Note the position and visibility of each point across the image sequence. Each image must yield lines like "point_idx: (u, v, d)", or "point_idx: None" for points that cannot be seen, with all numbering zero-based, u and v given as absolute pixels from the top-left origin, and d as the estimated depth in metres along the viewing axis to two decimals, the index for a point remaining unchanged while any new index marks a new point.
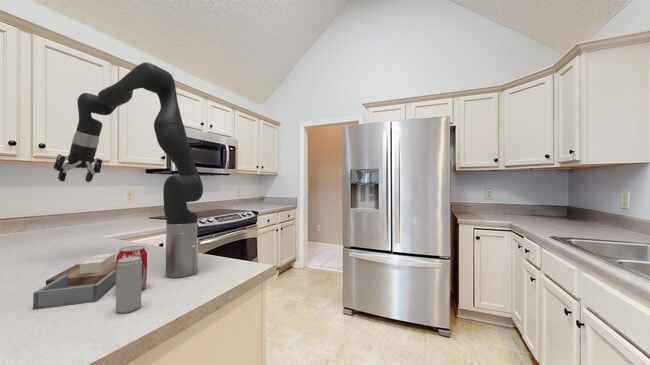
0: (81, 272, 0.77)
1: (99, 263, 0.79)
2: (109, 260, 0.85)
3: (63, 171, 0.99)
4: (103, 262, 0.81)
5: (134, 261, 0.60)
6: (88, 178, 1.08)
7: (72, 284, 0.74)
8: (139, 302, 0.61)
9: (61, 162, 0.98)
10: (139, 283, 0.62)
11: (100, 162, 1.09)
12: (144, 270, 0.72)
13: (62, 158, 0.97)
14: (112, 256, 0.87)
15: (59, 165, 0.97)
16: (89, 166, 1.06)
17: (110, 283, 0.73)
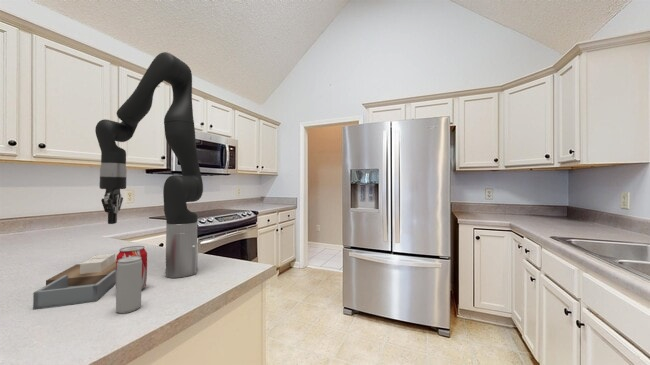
0: (81, 272, 0.77)
1: (99, 263, 0.79)
2: (109, 260, 0.85)
3: (115, 212, 0.92)
4: (103, 262, 0.81)
5: (134, 261, 0.60)
6: None
7: (72, 284, 0.74)
8: (139, 302, 0.61)
9: (112, 204, 0.89)
10: (139, 283, 0.62)
11: (122, 200, 0.98)
12: (144, 270, 0.72)
13: (110, 201, 0.88)
14: (112, 256, 0.87)
15: (112, 207, 0.90)
16: (119, 201, 0.95)
17: (110, 283, 0.73)
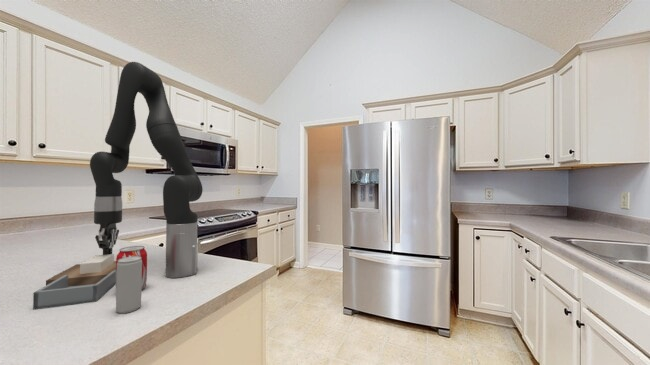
0: (81, 272, 0.77)
1: (99, 263, 0.79)
2: (108, 261, 0.84)
3: (110, 247, 0.89)
4: (103, 262, 0.81)
5: (134, 261, 0.60)
6: None
7: (72, 284, 0.74)
8: (139, 302, 0.61)
9: (106, 240, 0.86)
10: (139, 283, 0.62)
11: (118, 232, 0.95)
12: (144, 270, 0.72)
13: (105, 237, 0.85)
14: (111, 257, 0.87)
15: (107, 243, 0.86)
16: (115, 235, 0.91)
17: (110, 283, 0.73)
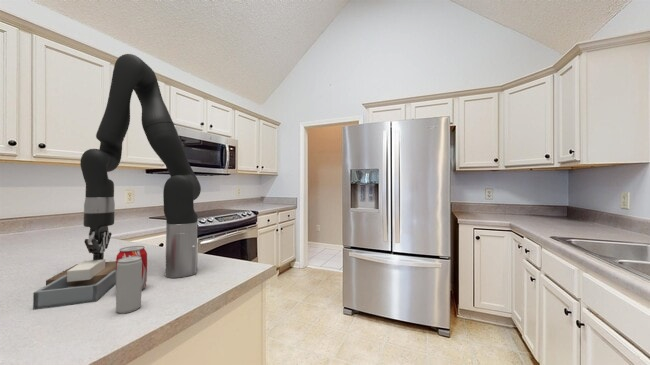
0: (68, 280, 0.71)
1: (88, 270, 0.73)
2: (98, 267, 0.78)
3: (101, 251, 0.82)
4: (92, 268, 0.74)
5: (134, 261, 0.60)
6: (100, 259, 0.83)
7: (72, 284, 0.74)
8: (139, 302, 0.61)
9: (97, 244, 0.79)
10: (139, 283, 0.62)
11: (110, 235, 0.88)
12: (144, 270, 0.72)
13: (95, 241, 0.78)
14: (102, 262, 0.80)
15: (97, 248, 0.80)
16: (106, 238, 0.85)
17: (110, 283, 0.73)
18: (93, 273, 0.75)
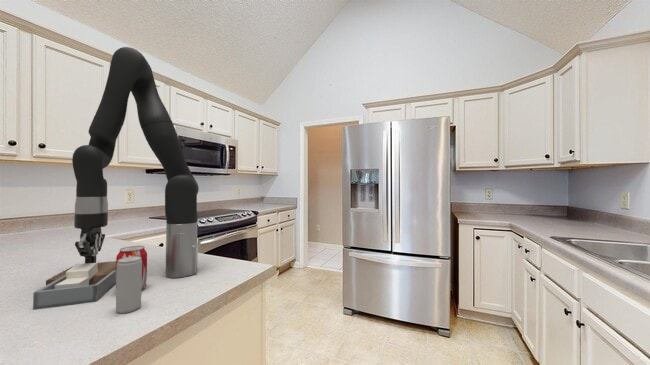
0: None
1: (76, 284, 0.68)
2: (89, 273, 0.73)
3: (93, 254, 0.77)
4: (82, 282, 0.70)
5: (134, 261, 0.60)
6: (93, 262, 0.78)
7: None
8: (139, 302, 0.61)
9: (88, 247, 0.74)
10: (139, 283, 0.62)
11: (103, 237, 0.83)
12: (144, 270, 0.72)
13: (86, 244, 0.73)
14: (93, 267, 0.75)
15: (89, 251, 0.75)
16: (99, 241, 0.80)
17: (110, 283, 0.73)
18: None
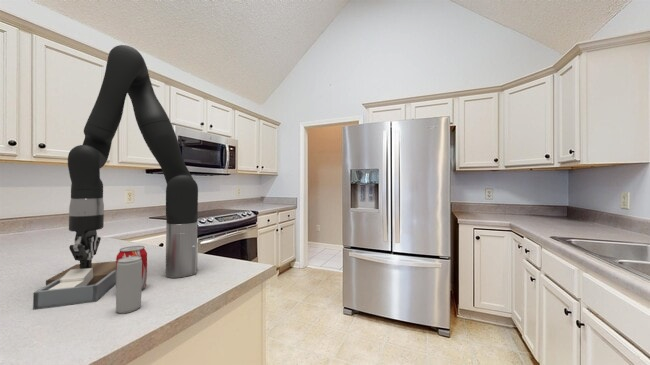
0: None
1: None
2: (84, 280, 0.71)
3: (88, 258, 0.75)
4: (77, 286, 0.67)
5: (134, 261, 0.60)
6: None
7: None
8: (139, 302, 0.61)
9: (83, 251, 0.72)
10: (139, 283, 0.62)
11: (99, 240, 0.81)
12: (144, 270, 0.72)
13: (82, 247, 0.71)
14: (89, 273, 0.73)
15: (84, 254, 0.72)
16: (95, 244, 0.77)
17: (110, 283, 0.73)
18: None
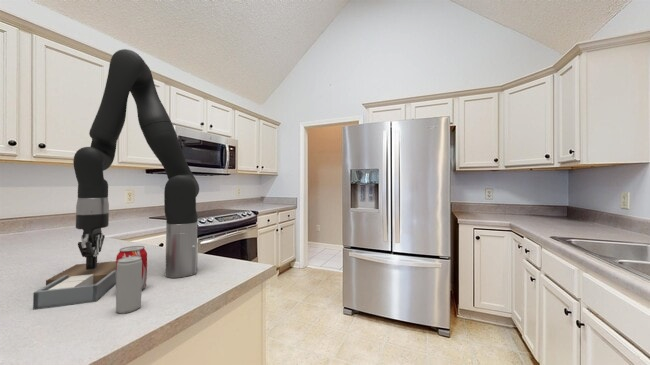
0: None
1: None
2: (85, 283, 0.71)
3: (94, 255, 0.78)
4: (77, 286, 0.67)
5: (134, 261, 0.60)
6: None
7: None
8: (139, 302, 0.61)
9: (91, 247, 0.75)
10: (139, 283, 0.62)
11: (103, 238, 0.84)
12: (144, 270, 0.72)
13: (89, 244, 0.74)
14: (89, 278, 0.73)
15: (91, 251, 0.76)
16: (100, 241, 0.81)
17: (110, 283, 0.73)
18: None
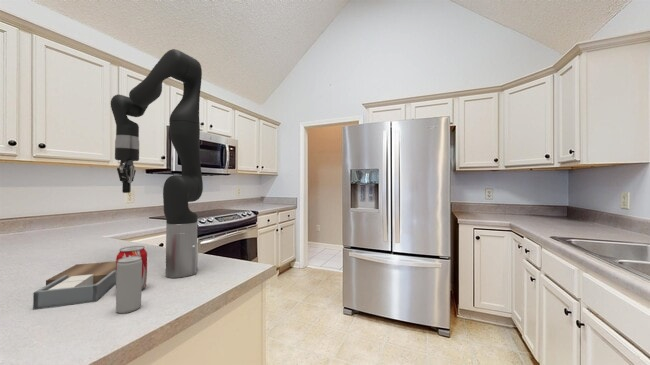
0: None
1: None
2: (85, 283, 0.71)
3: (129, 181, 0.99)
4: (77, 286, 0.67)
5: (134, 261, 0.60)
6: None
7: None
8: (139, 302, 0.61)
9: (126, 173, 0.96)
10: (139, 283, 0.62)
11: None
12: (144, 270, 0.72)
13: (125, 170, 0.95)
14: (89, 278, 0.73)
15: (127, 176, 0.96)
16: (133, 172, 1.01)
17: (110, 283, 0.73)
18: None
